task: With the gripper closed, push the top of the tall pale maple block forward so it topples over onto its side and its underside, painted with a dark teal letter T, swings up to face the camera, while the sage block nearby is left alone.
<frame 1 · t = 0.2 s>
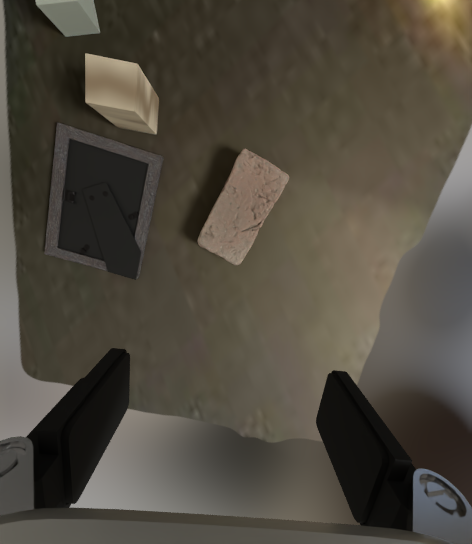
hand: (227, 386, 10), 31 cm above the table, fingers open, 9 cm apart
brick: (240, 212, 39), on the table
maple block: (138, 113, 34), on the table
picture frame: (106, 207, 38), on the table
sage block: (78, 13, 31), on the table
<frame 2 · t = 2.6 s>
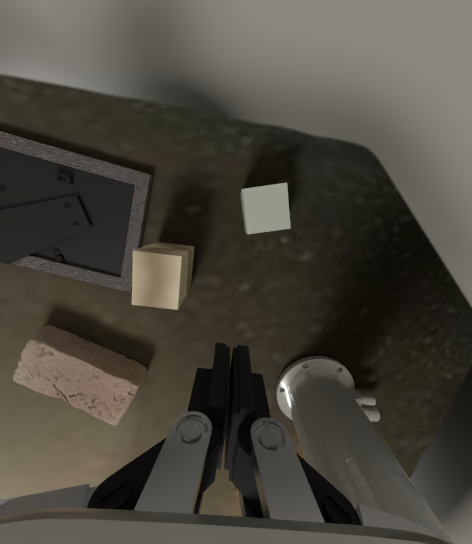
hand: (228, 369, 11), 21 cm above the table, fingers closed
brick: (93, 363, 36), on the table
maple block: (174, 265, 31), on the table
picture frame: (68, 215, 30), on the table
sage block: (261, 210, 30), on the table
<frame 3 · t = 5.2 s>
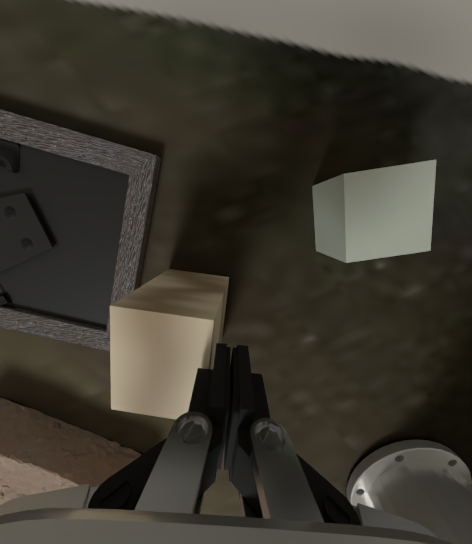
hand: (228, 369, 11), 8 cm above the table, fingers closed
brick: (69, 450, 23), on the table
maple block: (196, 306, 19), on the table, touching gripper
picture frame: (17, 227, 18), on the table
sage block: (345, 214, 17), on the table
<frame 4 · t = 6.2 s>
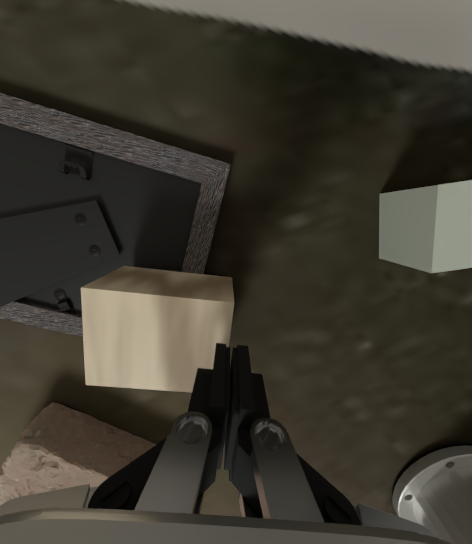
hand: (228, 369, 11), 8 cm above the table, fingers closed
brick: (116, 455, 23), on the table
maple block: (227, 329, 15), point 4 cm above the table, tilted 88°, touching picture frame
picture frame: (79, 233, 18), on the table, touching maple block
sage block: (410, 222, 17), on the table
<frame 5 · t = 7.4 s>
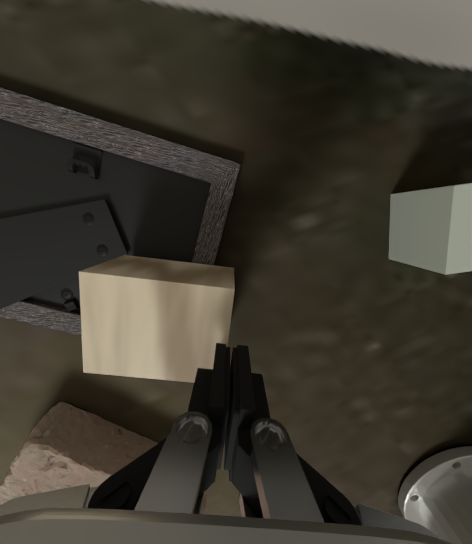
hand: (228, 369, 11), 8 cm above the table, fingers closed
brick: (122, 455, 23), on the table
maple block: (228, 319, 15), point 4 cm above the table, tilted 90°
picture frame: (86, 233, 18), on the table
sage block: (420, 223, 17), on the table
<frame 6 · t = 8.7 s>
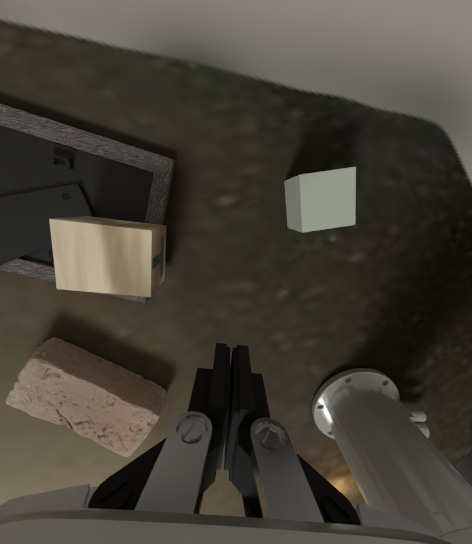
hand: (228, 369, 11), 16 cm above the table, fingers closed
brick: (102, 382, 30), on the table
maple block: (159, 258, 22), point 4 cm above the table, tilted 90°, touching picture frame
picture frame: (66, 209, 24), on the table, touching maple block
sage block: (308, 201, 25), on the table
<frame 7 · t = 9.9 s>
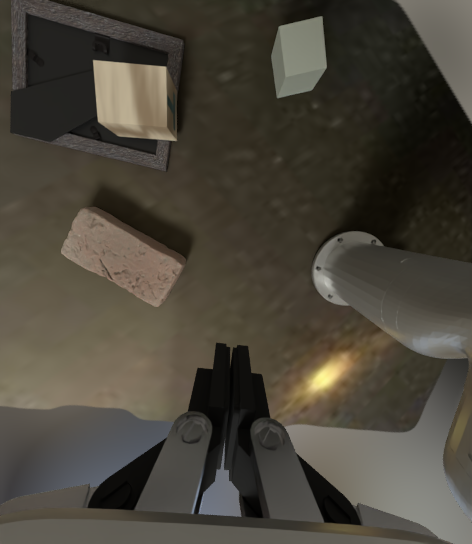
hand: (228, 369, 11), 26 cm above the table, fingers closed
brick: (133, 254, 37), on the table
maple block: (172, 108, 28), point 4 cm above the table, tilted 90°, touching picture frame
picture frame: (102, 95, 31), on the table, touching maple block
sage block: (291, 73, 31), on the table
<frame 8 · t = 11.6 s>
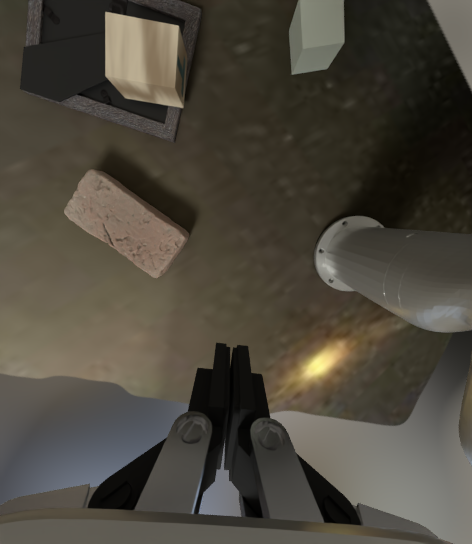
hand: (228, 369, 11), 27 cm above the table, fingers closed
brick: (136, 224, 36), on the table
maple block: (181, 71, 28), point 4 cm above the table, tilted 90°, touching picture frame
picture frame: (115, 59, 31), on the table, touching maple block
sage block: (308, 50, 31), on the table
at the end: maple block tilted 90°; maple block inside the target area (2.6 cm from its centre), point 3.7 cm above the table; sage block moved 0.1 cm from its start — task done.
